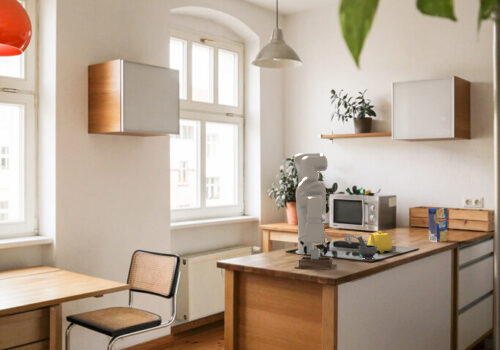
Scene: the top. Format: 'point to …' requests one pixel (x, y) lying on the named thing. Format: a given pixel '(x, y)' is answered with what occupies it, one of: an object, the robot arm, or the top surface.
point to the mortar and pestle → (366, 249)
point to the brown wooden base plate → (315, 263)
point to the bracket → (351, 237)
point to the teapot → (380, 241)
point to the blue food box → (437, 224)
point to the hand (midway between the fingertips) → (315, 254)
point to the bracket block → (315, 254)
